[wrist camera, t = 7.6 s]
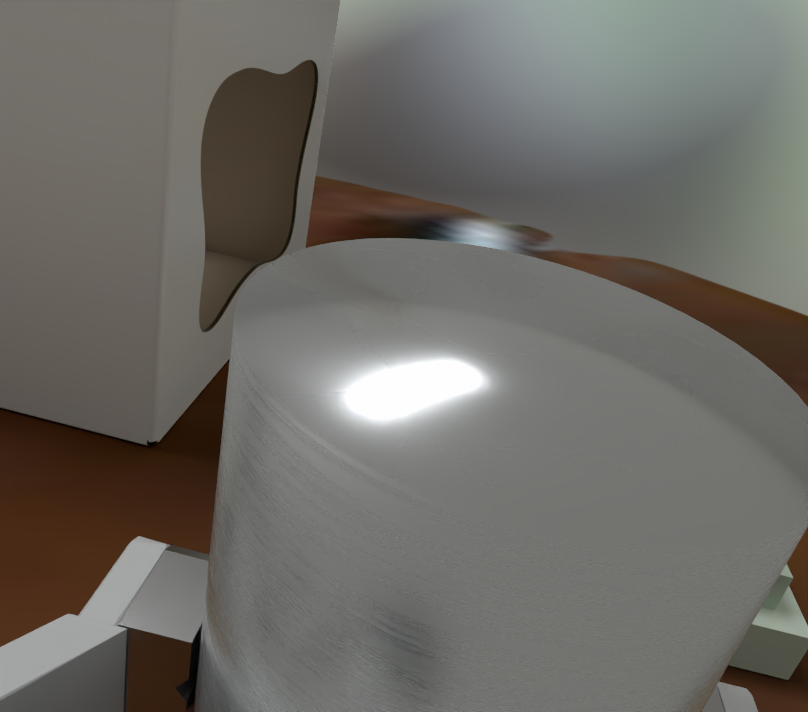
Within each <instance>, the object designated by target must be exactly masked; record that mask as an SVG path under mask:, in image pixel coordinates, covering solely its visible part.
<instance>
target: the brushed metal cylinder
mask: <svg viewBox="0 0 808 712" xmlns="http://www.w3.org/2000/svg"><path fill="white" fill-rule="evenodd" d="M807 527H808V407H807V406H806V405H805V403H804V402H803V401H802V400H801V398H800V397H799V396H798V395H797V394H796V393H795V392H794V391H793V390H792V389H791V388H790V387H789V386H788V385H787V384H786V383H785V382H784V381H783V380H782V379H781V378H780V377H779V376H778V375H777V374H775V373H774V372H773V371H772V370H771V369H769V368H768V367H767V366H766V365H765V364H763V363H762V362H761V361H760V360H758V359H757V358H756V357H754V356H753V355H751V354H750V353H749V352H747V351H746V350H744V349H743V348H742V347H740V346H739V345H737V344H736V343H734V342H733V341H731V340H730V339H728V338H726V337H725V336H723V335H722V334H720V333H718V332H717V331H715V330H713V329H712V328H710V327H708V326H706V325H705V324H703V323H701V322H699V321H697V320H696V319H694V318H692V317H690V316H688V315H686V314H684V313H682V312H680V311H678V310H676V309H674V308H672V307H670V306H668V305H666V304H664V303H662V302H660V301H658V300H655V299H653V298H651V297H648V296H646V295H644V294H641V293H639V292H637V291H635V290H632V289H629V288H627V287H624V286H622V285H619V284H617V283H614V282H611V281H609V280H606V279H603V278H600V277H597V276H594V275H591V274H588V273H586V272H583V271H580V270H576V269H573V268H570V267H566V266H563V265H560V264H556V263H553V262H549V261H545V260H541V259H537V258H534V257H530V256H526V255H521V254H517V253H512V252H507V251H503V250H498V249H492V248H487V247H481V246H475V245H469V244H461V243H453V242H446V241H435V240H423V239H400V238H380V239H359V240H348V241H339V242H333V243H327V244H321V245H317V246H313V247H310V248H306V249H302V250H298V251H296V252H293V253H291V254H288V255H286V256H283V257H280V258H279V259H277V260H275V261H273V262H272V263H270V264H268V265H266V266H265V267H263V268H262V269H261V270H260V271H259V272H257V273H256V274H255V275H254V276H253V277H251V278H250V280H249V281H248V282H247V284H246V285H245V287H244V288H243V289H242V291H241V292H240V295H239V298H238V301H237V304H236V307H235V314H234V323H233V333H232V342H231V352H230V362H229V371H228V381H227V391H226V400H225V410H224V420H223V429H222V439H221V449H220V458H219V468H218V478H217V487H216V497H215V506H214V516H213V526H212V535H211V545H210V555H209V564H208V574H207V584H206V593H205V603H204V613H203V622H202V632H201V641H200V651H199V661H198V670H197V680H196V690H195V699H194V709H193V712H701V711H702V710H703V708H704V706H705V704H706V703H707V701H708V699H709V698H710V696H711V694H712V692H713V691H714V689H715V687H716V685H717V684H718V682H719V680H720V678H721V677H722V675H723V673H724V671H725V670H726V668H727V666H728V664H729V663H730V661H731V659H732V657H733V656H734V654H735V652H736V650H737V649H738V647H739V645H740V643H741V642H742V640H743V638H744V637H745V635H746V633H747V631H748V630H749V628H750V626H751V624H752V623H753V621H754V619H755V617H756V616H757V614H758V612H759V610H760V609H761V607H762V605H763V603H764V602H765V600H766V598H767V596H768V595H769V593H770V591H771V589H772V588H773V586H774V584H775V583H776V581H777V579H778V577H779V576H780V574H781V572H782V570H783V569H784V567H785V565H786V563H787V562H788V560H789V558H790V556H791V555H792V553H793V551H794V549H795V548H796V546H797V544H798V542H799V541H800V539H801V537H802V535H803V534H804V532H805V530H806V528H807Z"/></svg>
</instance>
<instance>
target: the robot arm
mask: <svg viewBox="0 0 808 712" xmlns="http://www.w3.org/2000/svg"><path fill="white" fill-rule="evenodd" d="M208 564H209V555H207V554H204V553H200V552H197V551H193V550H189V549H186V548H182V547H178V546H175V545H168V544H165V543H161V542H158V541H154V540H151V539H147V538H144V537H140V536H138V537H137V538H135V539H134V540H133V541H131V542H130V543H129V544H128V546H127V547H126V549H125V550H124V551H123V553H122V554H121V556H120V557H119V559H118V560H117V561H116V563H115V564H114V566H113V567H112V569H111V570H110V571H109V573H108V574H107V576H106V577H105V578H104V580H103V581H102V583H101V584H100V586H99V587H98V588H97V590H96V591H95V593H94V594H93V596H92V597H91V598H90V600H89V601H88V603H87V604H86V605H85V607H84V608H83V610H82V611H81V613H80V614H79V615H78V616H76V615H72V614H66V615H64V616H62V617H60V618H58V619H56V620H54V621H52V622H50V623H48V624H46V625H44V626H42V627H40V628H38V629H36V630H34V631H32V632H30V633H28V634H26V635H24V636H22V637H20V638H18V639H16V640H14V641H12V642H10V643H8V644H6V645H4V646H2V647H0V712H193V709H194V699H195V690H196V680H197V670H198V661H199V651H200V641H201V632H202V622H203V613H204V603H205V593H206V584H207V574H208ZM701 712H758V710H757V707H756V704H755V702H754V699H753V696H752V694H751V693H750V692H749V691H748V690H747V689H746V688H742V687H738V686H734V685H729V684H725V683H721V682H718V684H717V685H716V687H715V689H714V691H713V692H712V694H711V696H710V698H709V699H708V701H707V703H706V704H705V706H704V708H703V710H702V711H701Z"/></svg>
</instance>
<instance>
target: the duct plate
mask: <svg viewBox="0 0 808 712" xmlns="http://www.w3.org/2000/svg"><path fill="white" fill-rule="evenodd" d="M792 579H793V576H792V574H791V572H790V570H789V568H788V566H787V564H786V565H785V567H784V569H783V570H782V572H781V574H780V576H779V577H778V579H777V581H776V583H775V584H774V586H773V588H772V589H771V591H770V593H769V595H768V596H767V598H766V600H765V602H764V603H763V605H762V607H761V609H760V610H759V612H758V614H757V616H756V617H755V619H754V621H753V623H752V624H751V626H750V628H749V630H748V631H747V633H746V635H745V637H744V638H743V640H742V642H741V643H740V645H739V647H738V649H737V650H736V652H735V654H734V656H733V657H732V659H731V661H730V663H729V664H728V665H730V666H734V667H738V668H742V669H746V670H750V671H754V672H758V673H762V674H766V675H770V676H774V677H778V678H782V679H786V680H789V678H790V677H791V675H792V674H793V672H794V670H795V669H796V667H797V666H798V664H799V662H800V661H801V659H802V658H803V656H804V654H805V653H806V651H807V650H808V626H807V624H806V622H805V619H804V617H803V615H802V613H801V611H800V609H799V607H798V604H797V602H796V600H795V598H794V596H793V594H792V591H791V589H790V587H789V585H790V583H791V581H792Z"/></svg>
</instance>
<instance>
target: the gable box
mask: <svg viewBox="0 0 808 712" xmlns="http://www.w3.org/2000/svg"><path fill="white" fill-rule="evenodd" d="M339 5H340V0H0V408H4V409H8V410H11V411H15V412H19V413H23V414H27V415H31V416H35V417H38V418H42V419H46V420H50V421H54V422H58V423H62V424H66V425H69V426H73V427H77V428H81V429H85V430H89V431H93V432H96V433H100V434H104V435H108V436H112V437H116V438H120V439H123V440H127V441H131V442H135V443H139V444H143V445H147V446H149V442H151V443H152V444H153V445H155V444H156V443H158V442H159V441H160V440H161V439H162V438H163V436H164V435H165V434H166V433H167V432H168V430H169V429H170V428H171V427H172V426H173V425H174V423H175V422H176V421H177V420H178V419H179V417H180V416H181V415H182V414H183V413H184V412H185V410H186V409H187V408H188V407H189V406H190V405H191V403H192V402H193V401H194V400H195V399H196V397H197V396H198V395H199V394H200V393H201V392H202V390H203V389H204V388H205V387H206V386H207V384H208V383H209V382H210V381H211V380H212V379H213V377H214V376H215V375H216V374H217V373H218V371H219V370H220V369H221V368H222V367H223V366H224V364H225V363H226V362H227V361H228V360H229V359H230V352H231V342H232V333H233V323H234V314H235V307H236V304H237V301H238V298H239V295H240V292H241V291H242V289H243V288H244V287H245V285H246V284H247V282H248V281H249V280H250V278H251V277H253V276H254V275H255V274H256V273H257V272H259V271H260V270H261V269H262V268H263V267H265V266H266V265H268V264H270V263H272V262H273V261H275V260H277V259H279V258H280V257H283V256H286V255H288V254H291V253H293V252H296V251H298V250H302V249H305V245H306V238H307V231H308V224H309V217H310V210H311V203H312V196H313V188H314V181H315V174H316V167H317V160H318V153H319V145H320V138H321V132H322V125H323V118H324V111H325V104H326V96H327V89H328V83H329V75H330V69H331V62H332V54H333V47H334V40H335V33H336V26H337V19H338V12H339Z"/></svg>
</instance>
